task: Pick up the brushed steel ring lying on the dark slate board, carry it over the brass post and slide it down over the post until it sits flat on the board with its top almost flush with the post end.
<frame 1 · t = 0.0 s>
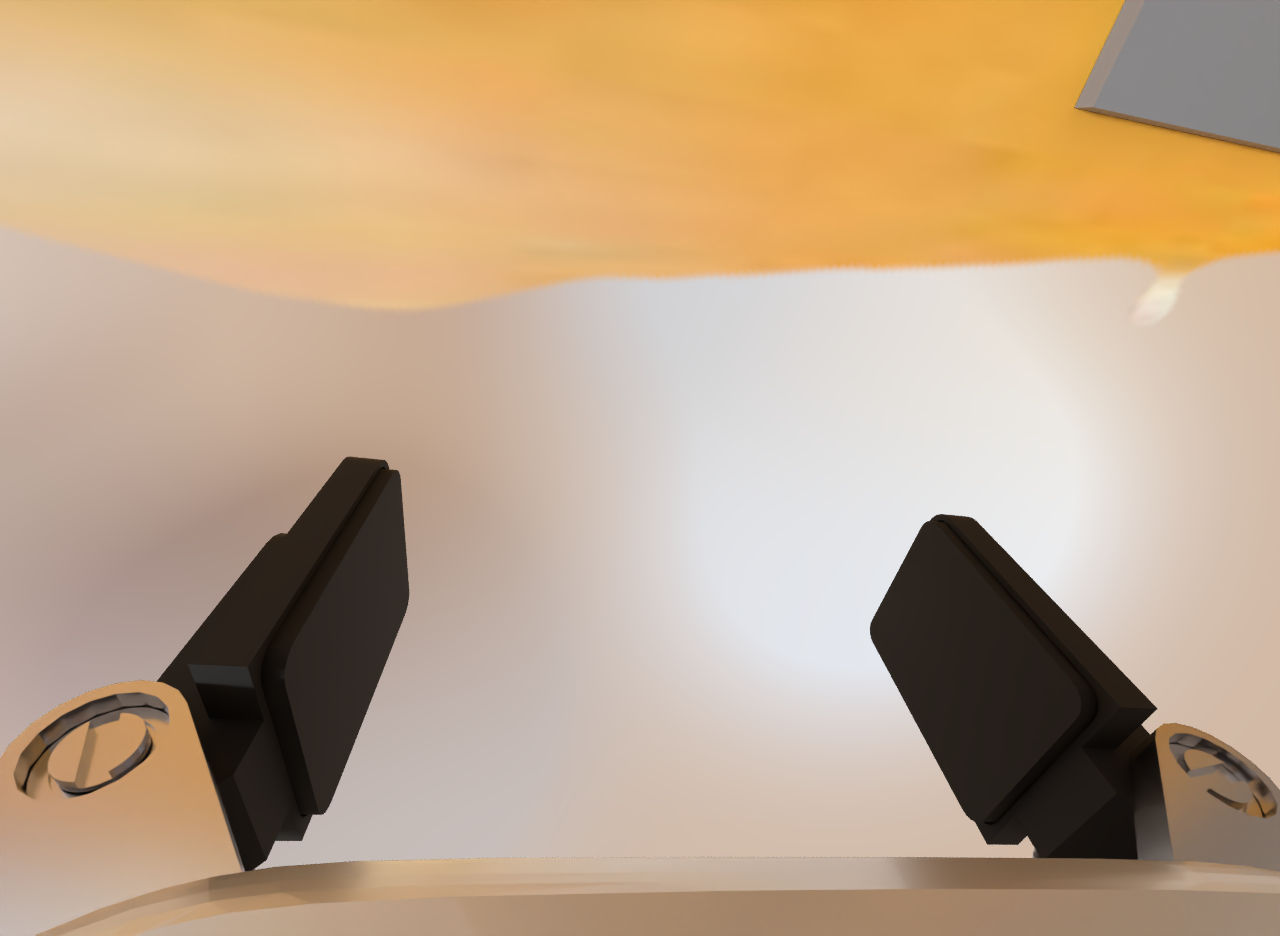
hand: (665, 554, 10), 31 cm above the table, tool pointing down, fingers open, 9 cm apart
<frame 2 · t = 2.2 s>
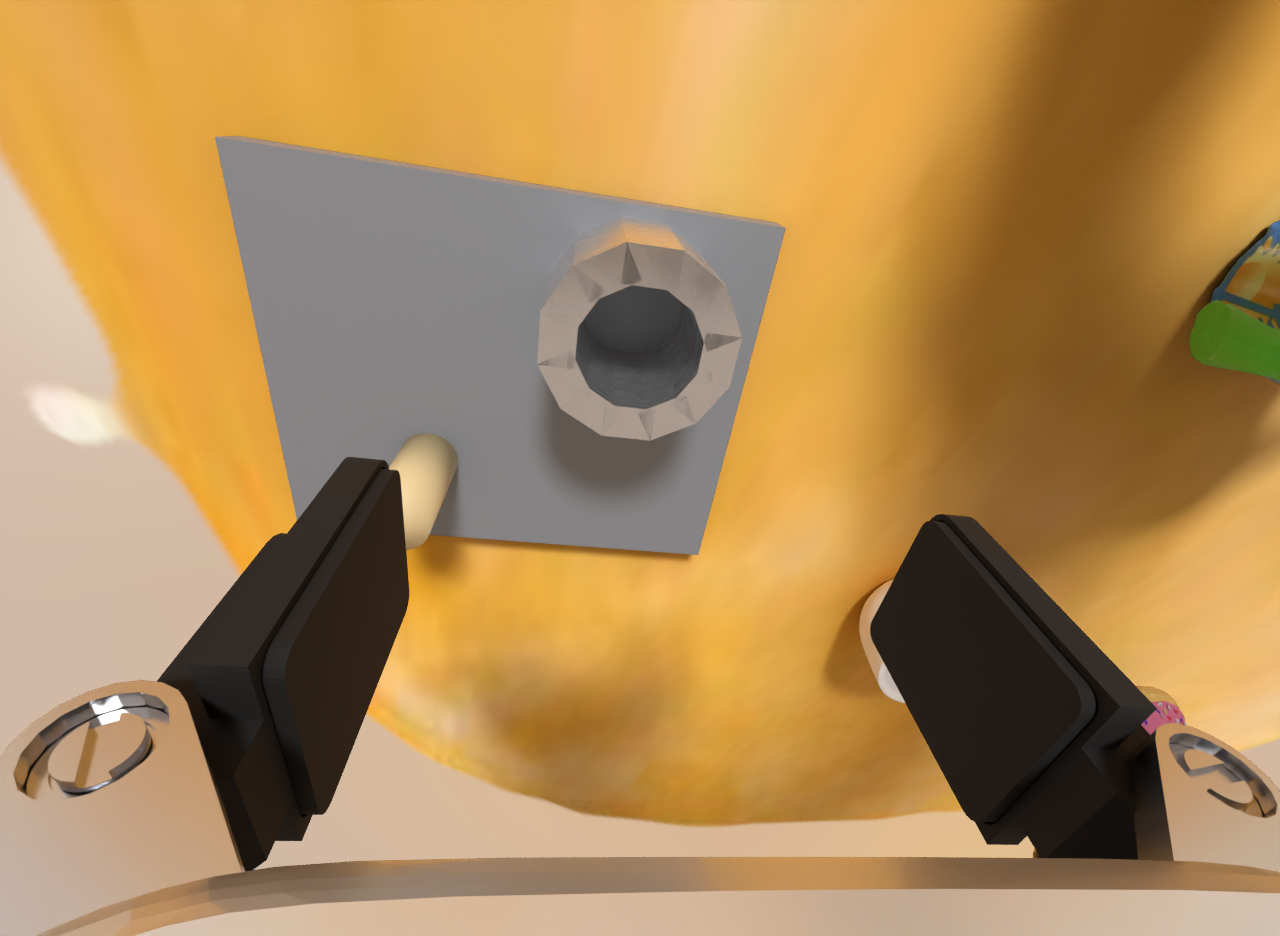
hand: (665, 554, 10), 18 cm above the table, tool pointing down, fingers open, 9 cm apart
cupcake: (1068, 675, 44), on the table
snack cup: (1275, 280, 28), on the table
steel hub: (630, 303, 24), point 1 cm above the table, touching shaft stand
teacup: (913, 588, 38), on the table
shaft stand: (516, 381, 28), on the table
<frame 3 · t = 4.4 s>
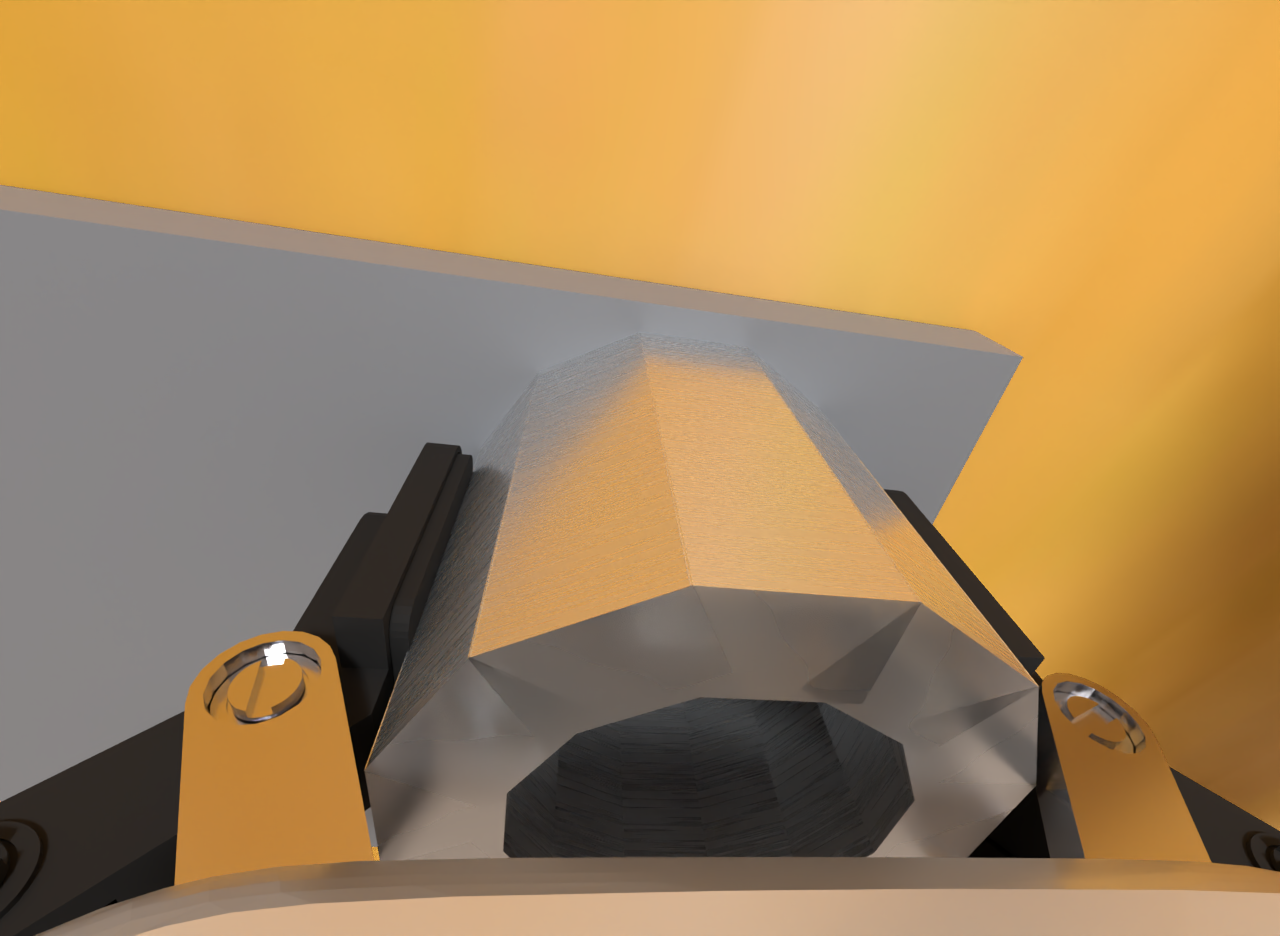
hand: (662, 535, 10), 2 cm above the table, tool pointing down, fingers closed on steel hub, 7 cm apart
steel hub: (657, 506, 11), point 2 cm above the table, touching gripper, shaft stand
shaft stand: (429, 611, 14), on the table
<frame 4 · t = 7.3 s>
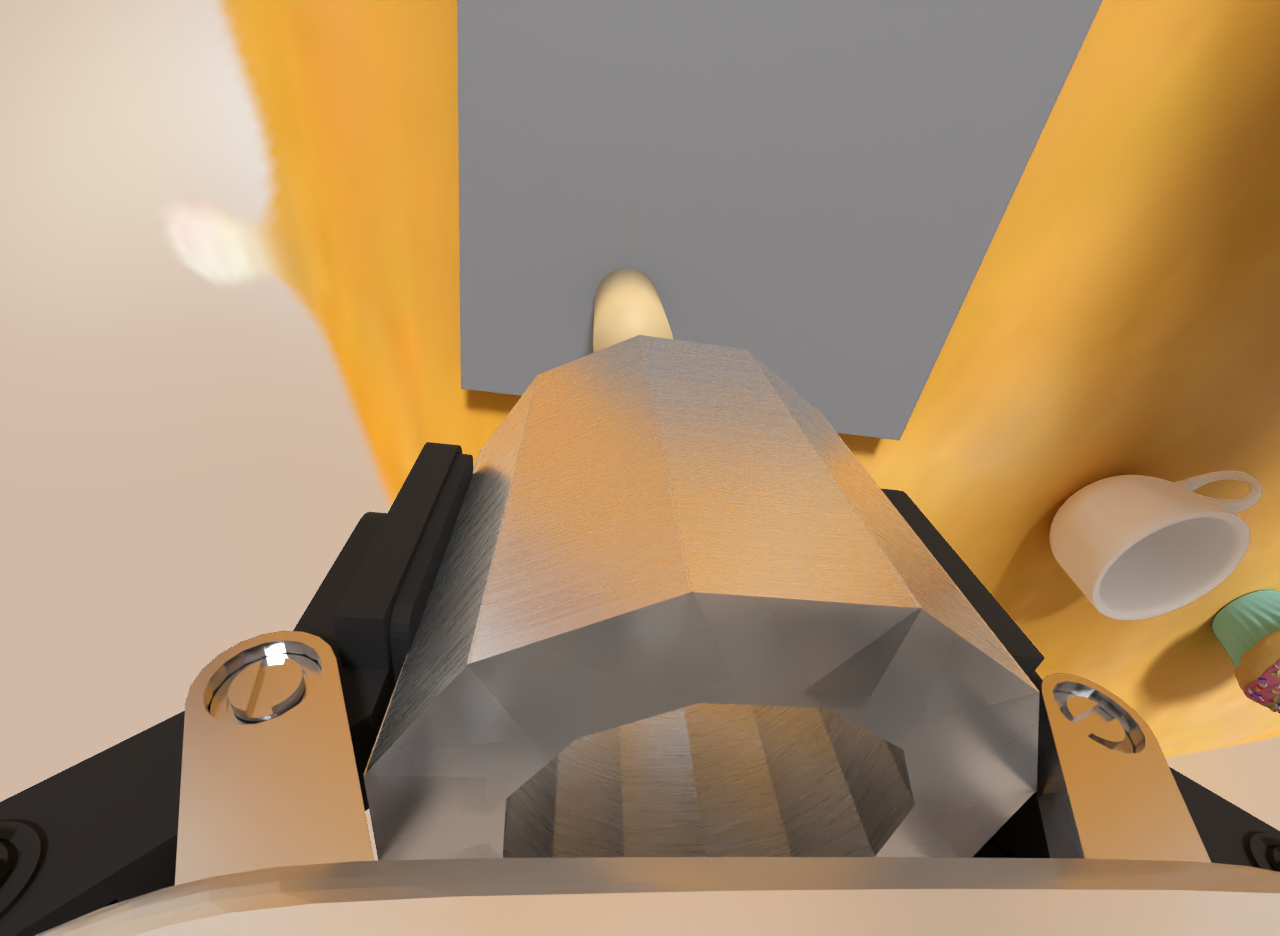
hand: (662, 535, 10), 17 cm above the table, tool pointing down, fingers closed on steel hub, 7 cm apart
cupcake: (1245, 609, 40), on the table
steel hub: (657, 508, 11), point 17 cm above the table, touching gripper
teacup: (1107, 497, 34), on the table
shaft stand: (731, 212, 24), on the table
when the fingers open (3 cm above the table, at t = 10.2 s): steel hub stays where it is, resting on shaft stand.
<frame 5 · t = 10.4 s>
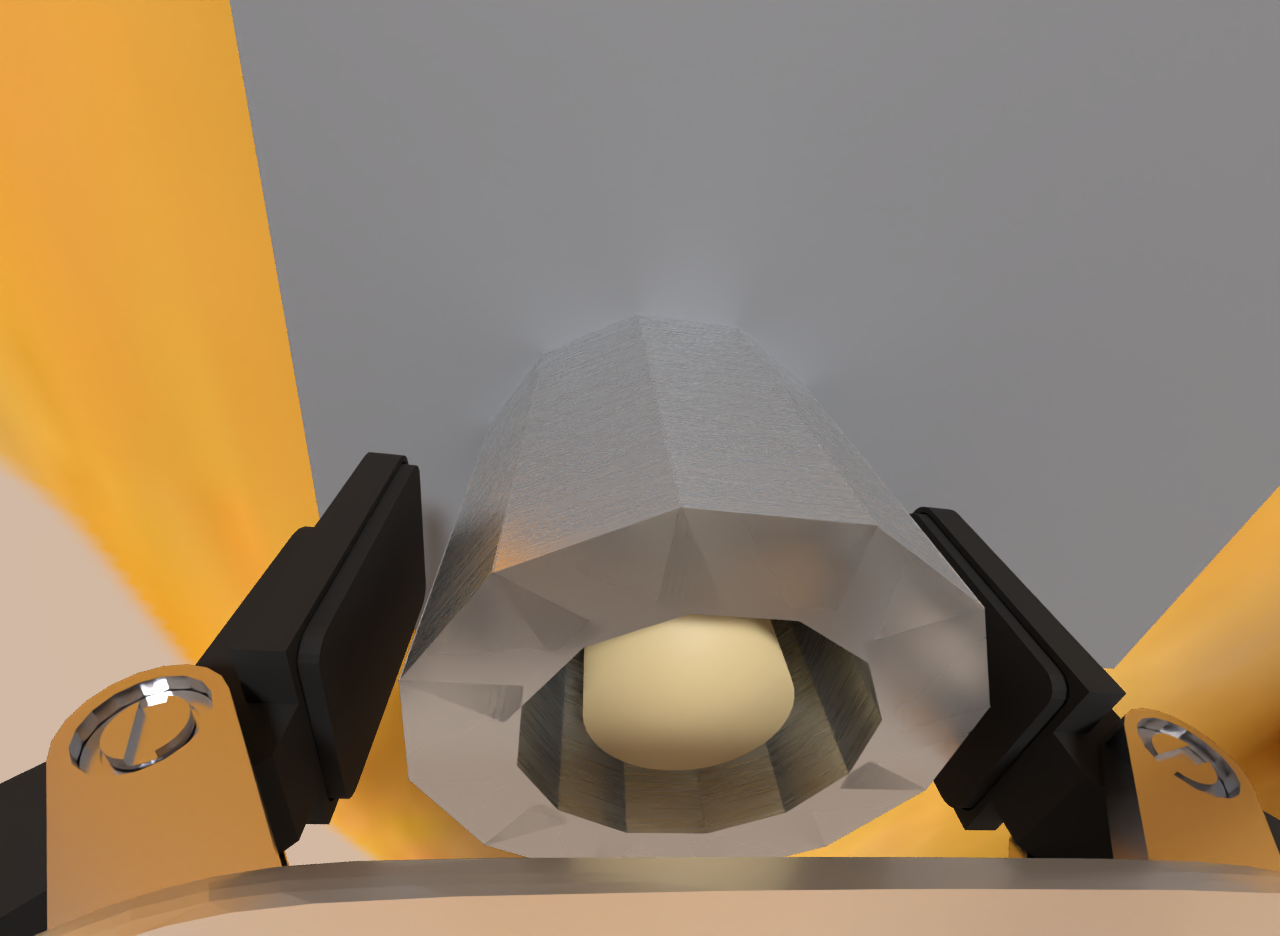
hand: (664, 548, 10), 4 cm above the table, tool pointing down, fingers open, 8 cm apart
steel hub: (655, 479, 12), point 1 cm above the table, touching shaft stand
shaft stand: (863, 305, 12), on the table
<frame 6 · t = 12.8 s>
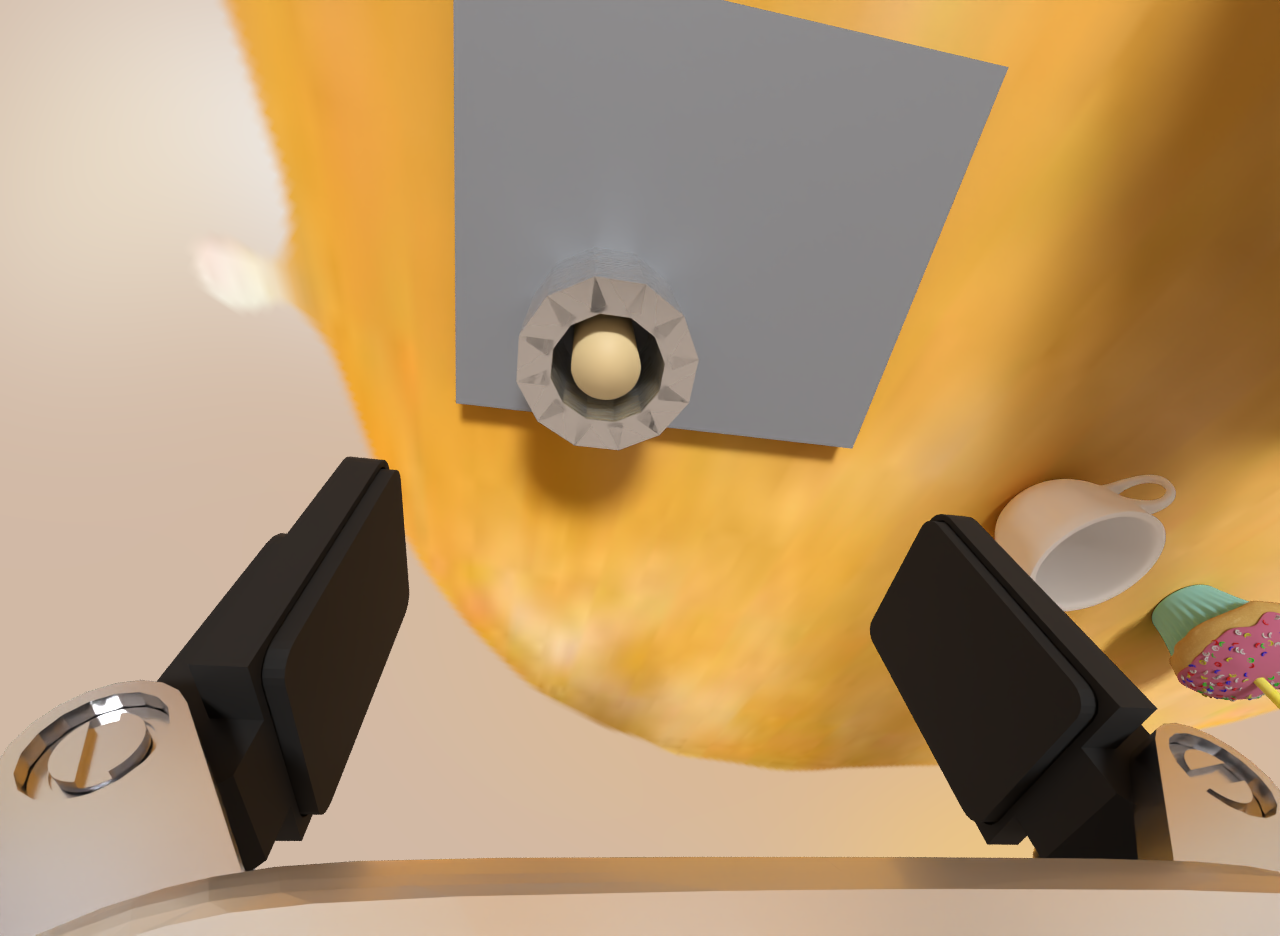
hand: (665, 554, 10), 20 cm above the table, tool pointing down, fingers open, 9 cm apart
cupcake: (1181, 603, 43), on the table
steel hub: (604, 325, 27), point 1 cm above the table, touching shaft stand
teacup: (1046, 499, 37), on the table
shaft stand: (695, 248, 27), on the table
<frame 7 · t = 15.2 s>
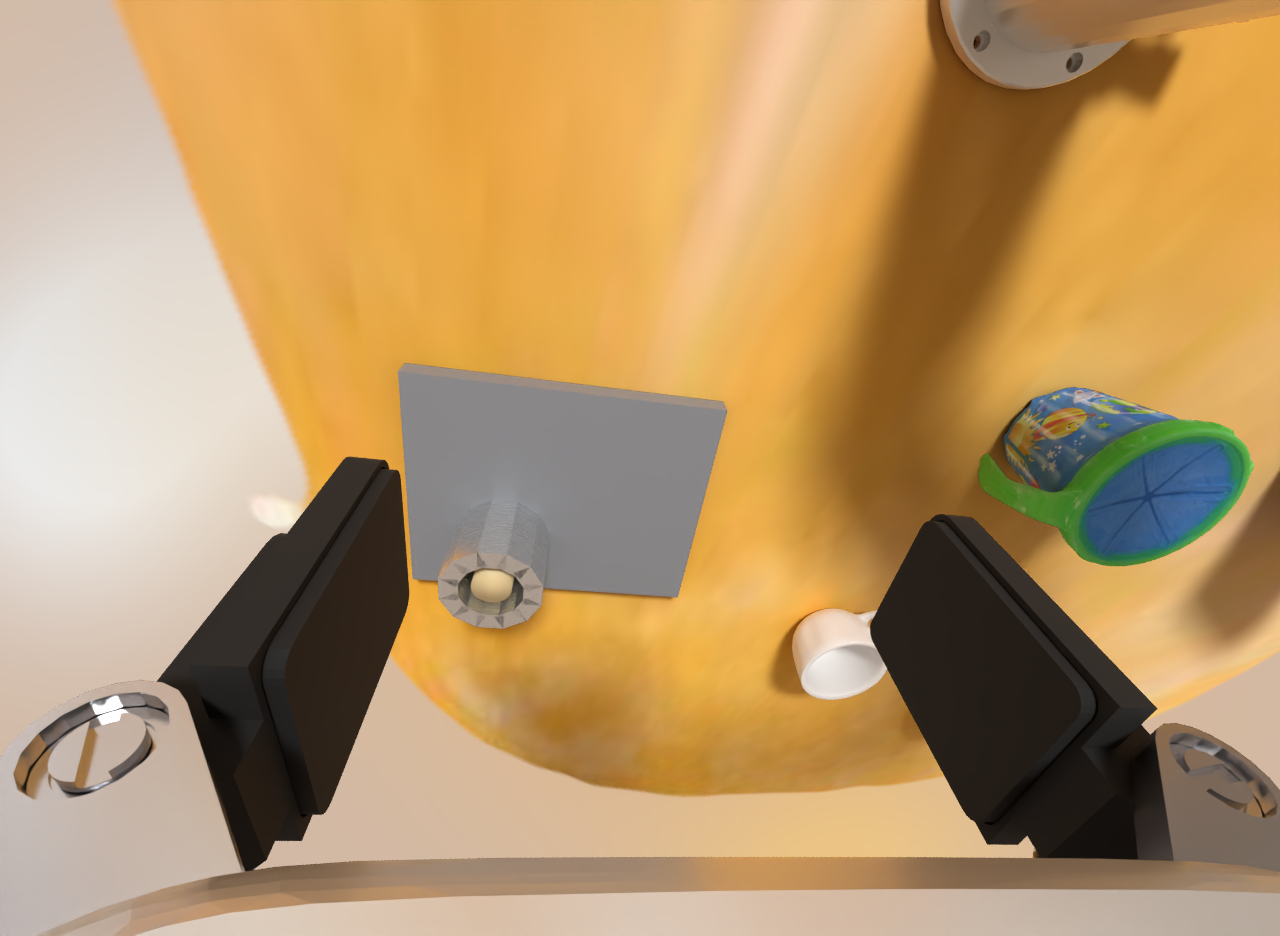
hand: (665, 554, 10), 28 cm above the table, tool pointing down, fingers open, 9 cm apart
snack cup: (1045, 427, 43), on the table
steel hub: (503, 537, 43), point 1 cm above the table, touching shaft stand
teacup: (831, 617, 53), on the table
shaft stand: (559, 489, 43), on the table
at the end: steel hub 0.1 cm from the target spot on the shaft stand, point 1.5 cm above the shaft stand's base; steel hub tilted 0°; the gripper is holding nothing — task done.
